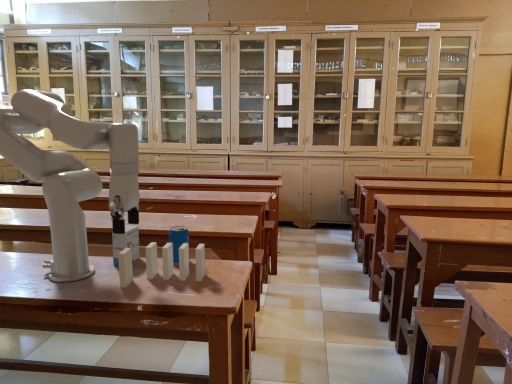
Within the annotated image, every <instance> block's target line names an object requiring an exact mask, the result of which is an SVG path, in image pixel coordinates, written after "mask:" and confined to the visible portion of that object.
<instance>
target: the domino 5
mask: <svg viewBox="0 0 512 384" xmlns="http://www.w3.org/2000/svg"><path fill="white" fill-rule="evenodd" d="M205 246H206V245H205V243H199V244H198V245H197V246H196V248H195V281H196V282H202V281H203V279H204V277H205V275H206V261H205V260H206V257H205V255H206V254H205V252H206V251H205V250H206V249H205Z"/></svg>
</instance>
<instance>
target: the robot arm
mask: <svg viewBox="0 0 512 384" xmlns="http://www.w3.org/2000/svg"><path fill="white" fill-rule="evenodd" d="M45 129H49V131H50V133H51V134H52V136H53V137H54V138H55V139H56V140H57V141H59V142H61V143H63V144H66V145H67V146H70V147H72V148H75V149H78V150H85V151H86V150H87V151H90V150H106V149H107V150H108V149H109V152H108V153H109V174H110V176H109V183H108V184H109V185H108V209H109V212H110V213H109V214H110V216H111V223H112V231H113V233H114V234H124V233H125V225H126V222H125V221H126V220H125V214H126V212H127V224H128V225H139V224H140V206H139V205H140V197H141V196H140V185H139V177H138V175H140V163H139V162H140V161H139V160H140V155H139V154H140V153H139V152H140V151H139V149H140V148H139V129H138V126H137V125H136V124H135V123H127V122H126V123H125V122H110V121H99V120H98V121H96V120H82V119H80V118H79V119H78V118H75V117H74V112H73V110H72V108H71V107H70V106H69V105H68V104H67V103H65V101H64V99H63V98H62V97H61V96H59V95H58V94H56V93H54V92H50V91H44V90H37V89H22V90H21V89H20V90H18V91H16V92H15V93H13V95H12V96H11V98H10V105H0V156H1V158H3V159H5V160H6V161H8V162H9V163H10V164H11V165H12V166H13V167H14V168H15V169H17V170H18V171H19V172H20V173H21V174H23V175H24V176H26V177H27V178H28V179H29V180H31V181H32V182H35V183H39V184H42V186H41V187H42V189H41V190H42V195H43V198H44V201H45V203H46V207H47V212H48V213H47V214H48V220H49V221H48V222H49V228H50V237H51V238H50V240H51V241H50V242H51V249H52V259H44V261H43V264H42V268H43V269H50V271H49V273H48V279H49V280H51V281H52V282H57V283H66V282H67V283H69V282H74V281H78V280H82V279H86V278H87V277H90V276H91V275H93V274H94V273H95V271H96V269H95V268H96V267H95V266H94V265H93V264H91V263H90V262H89V261H90V260H89V259H90V258H89V247H88V236H87V235H88V234H87V232H88V231H87V223H86V221H87V220H86V214H85V212H84V210H83V209H82V207H81V206H80V204H79V203H80V202H83V201H88V200H92V199H94V198H96V197H98V196H99V195H100V194H101V193H102V191H103V188H104V187H103V182H102V178H101V177H100V174H98V173H97V172H96V171H95V170H94V169H92V167H90V166H89V165H88V164H86V163H85V162H84V161H83V160H81V159H80V158H79V157H78V156H76V155H75V154H73V153H72V152H70V151H66V150H59V149H58V150H44V149H42V148H40V147H39V146H37V145H36V144H35V143H33V142H32V141H30V140H29V139H27V138H26V137H23V136H21V135H34V134H36V133H38V132H41V131H43V130H45Z"/></svg>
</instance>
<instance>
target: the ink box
mask: <svg viewBox="0 0 512 384" xmlns="http://www.w3.org/2000/svg"><path fill="white" fill-rule="evenodd" d="M139 230H140V228H139V225H133V224H128V225H127V224H125V233H124V234H114V233H113V230H112V231H111V232H112V233H111V235H112V256H113V257H112V263H113V266H119V259H118V254H119V253H120V252H121V251H123V250H124V249H125V248H131V252H132V263H133V262H135V261H136V260H138V259H140V237H139Z"/></svg>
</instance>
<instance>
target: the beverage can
mask: <svg viewBox="0 0 512 384" xmlns="http://www.w3.org/2000/svg"><path fill="white" fill-rule="evenodd" d="M169 229H170V230H169V231H168V243H173V265H174V266H179V248H180V247H181V245H182V244H183V243H189V244H190V236H189V235H190V234H189V232H190V231H189V229H188V227H187V226H184V225H175V226H171V227H170V228H169Z"/></svg>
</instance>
